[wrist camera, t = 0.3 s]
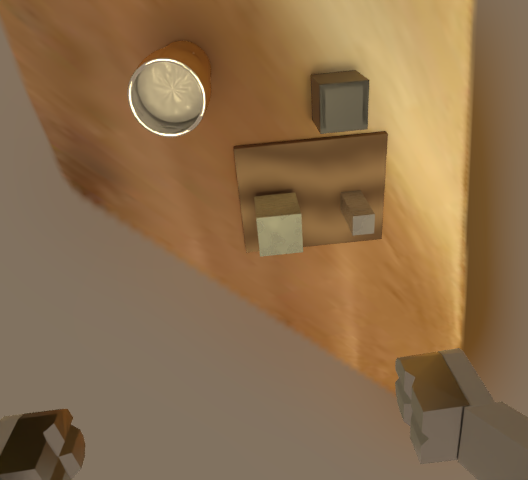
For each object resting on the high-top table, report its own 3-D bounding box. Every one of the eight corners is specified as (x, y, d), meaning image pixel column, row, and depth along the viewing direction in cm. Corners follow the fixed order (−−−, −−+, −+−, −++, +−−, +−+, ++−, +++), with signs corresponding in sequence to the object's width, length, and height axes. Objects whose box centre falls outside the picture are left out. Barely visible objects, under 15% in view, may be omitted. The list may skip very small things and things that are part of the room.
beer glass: (221, 94, 52) (217, 130, 39) (163, 106, 52) (140, 147, 39) (206, 29, 48) (196, 46, 35) (144, 43, 49) (112, 65, 36)
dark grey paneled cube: (310, 74, 51) (319, 84, 46) (355, 70, 51) (369, 79, 46) (312, 119, 54) (320, 133, 49) (354, 115, 54) (367, 129, 49)
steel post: (340, 192, 58) (352, 216, 52) (360, 190, 58) (374, 214, 52) (340, 209, 59) (352, 235, 53) (359, 207, 59) (374, 233, 53)
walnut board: (233, 146, 55) (233, 149, 54) (385, 131, 55) (387, 133, 54) (246, 249, 63) (246, 252, 62) (379, 235, 63) (381, 238, 62)
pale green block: (253, 191, 57) (256, 218, 51) (293, 187, 57) (301, 213, 51) (257, 226, 60) (260, 256, 53) (295, 223, 60) (303, 252, 53)
